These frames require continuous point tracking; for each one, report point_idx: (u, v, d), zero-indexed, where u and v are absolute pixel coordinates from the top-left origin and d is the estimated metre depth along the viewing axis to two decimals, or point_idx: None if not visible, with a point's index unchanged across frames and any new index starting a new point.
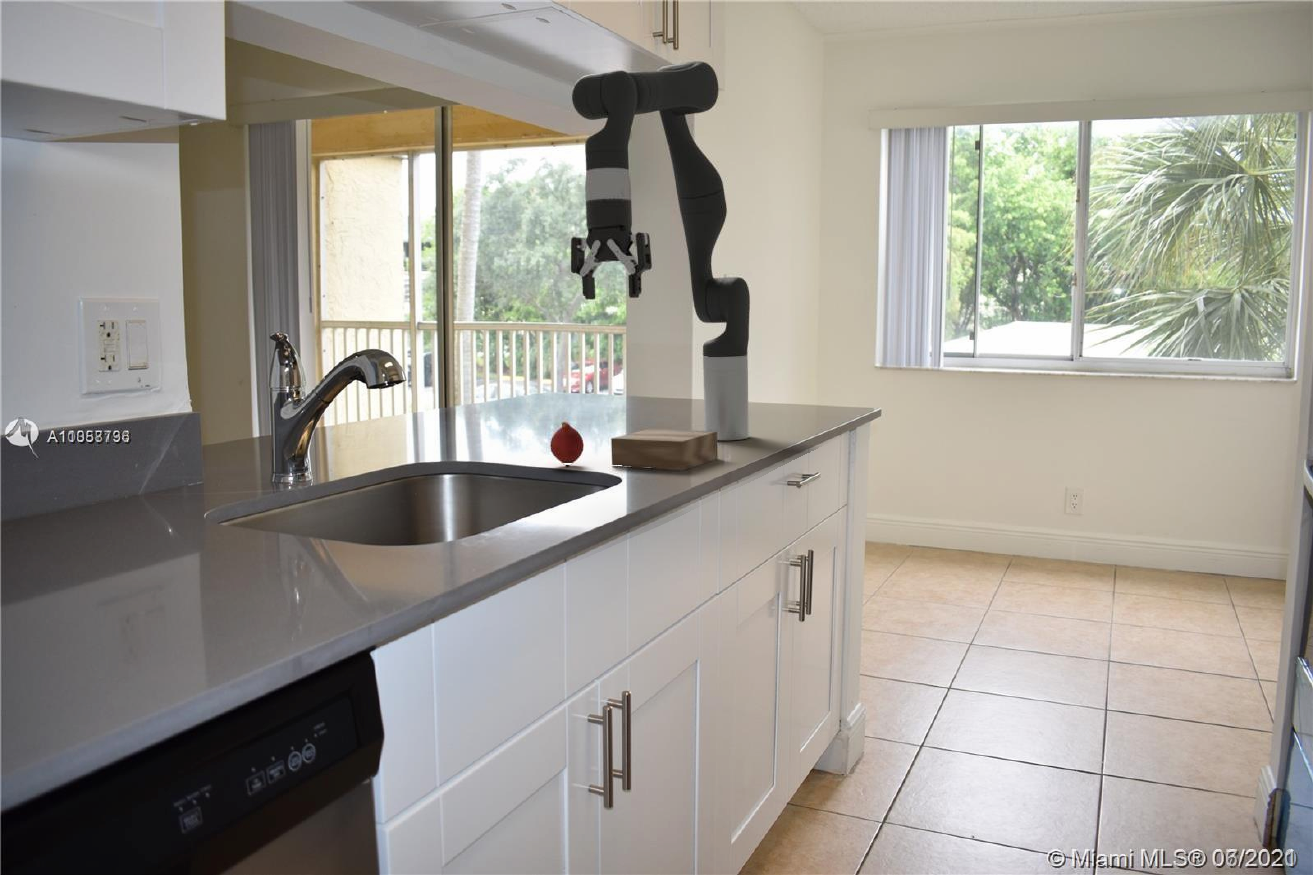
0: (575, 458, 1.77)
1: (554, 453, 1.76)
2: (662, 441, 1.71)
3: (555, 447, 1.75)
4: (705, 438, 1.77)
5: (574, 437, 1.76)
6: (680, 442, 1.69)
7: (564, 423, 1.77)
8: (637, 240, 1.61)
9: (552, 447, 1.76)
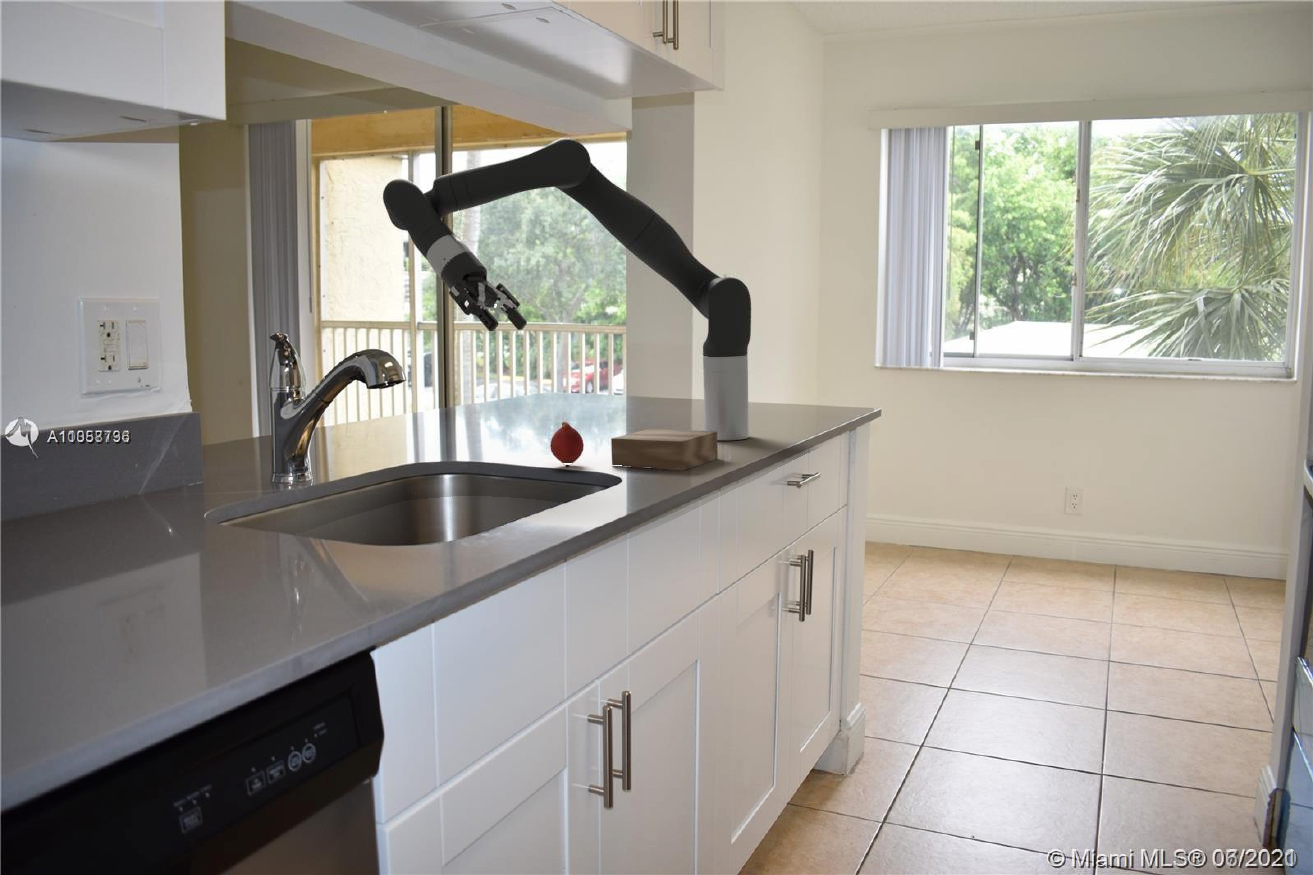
0: (575, 458, 1.77)
1: (554, 453, 1.76)
2: (662, 441, 1.71)
3: (555, 447, 1.75)
4: (705, 438, 1.77)
5: (574, 437, 1.76)
6: (680, 442, 1.69)
7: (564, 423, 1.77)
8: None
9: (552, 447, 1.76)
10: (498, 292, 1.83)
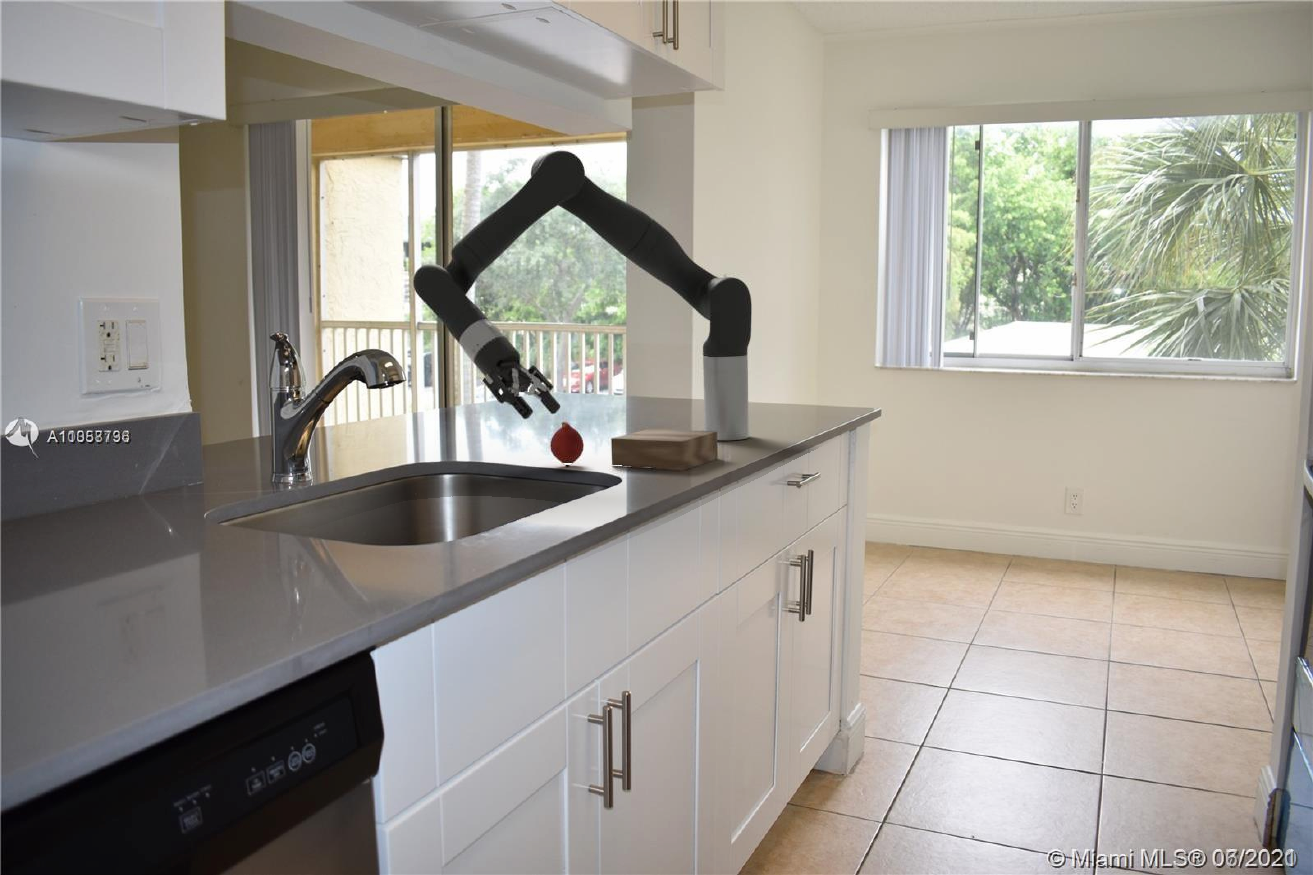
0: (575, 458, 1.77)
1: (554, 453, 1.76)
2: (662, 441, 1.71)
3: (555, 447, 1.75)
4: (705, 438, 1.77)
5: (574, 437, 1.76)
6: (680, 442, 1.69)
7: (564, 423, 1.77)
8: None
9: (552, 447, 1.76)
10: (531, 376, 1.83)
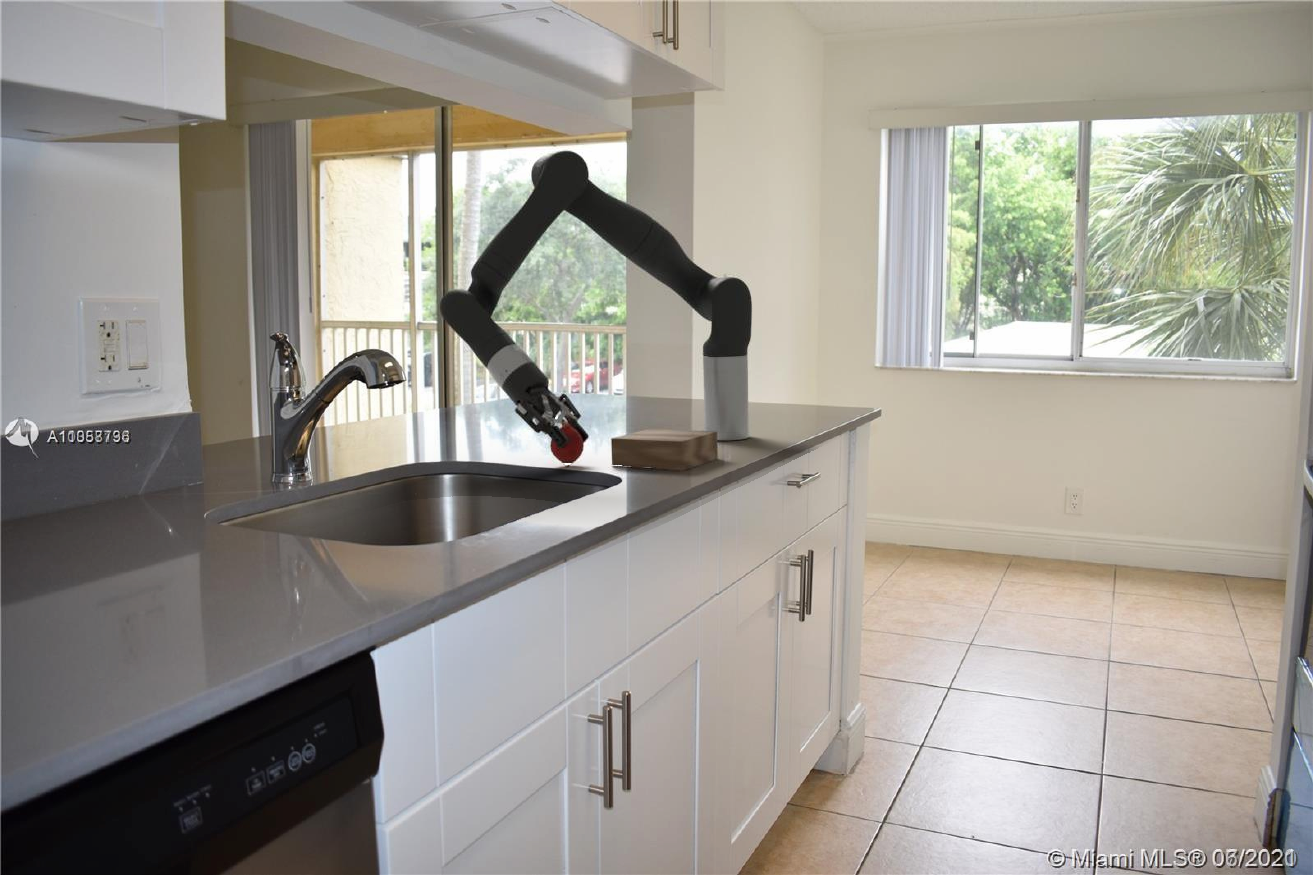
0: (575, 458, 1.77)
1: (554, 453, 1.76)
2: (662, 441, 1.71)
3: (555, 447, 1.75)
4: (705, 438, 1.77)
5: (574, 437, 1.76)
6: (680, 442, 1.69)
7: (564, 423, 1.77)
8: None
9: (552, 447, 1.76)
10: (560, 403, 1.80)
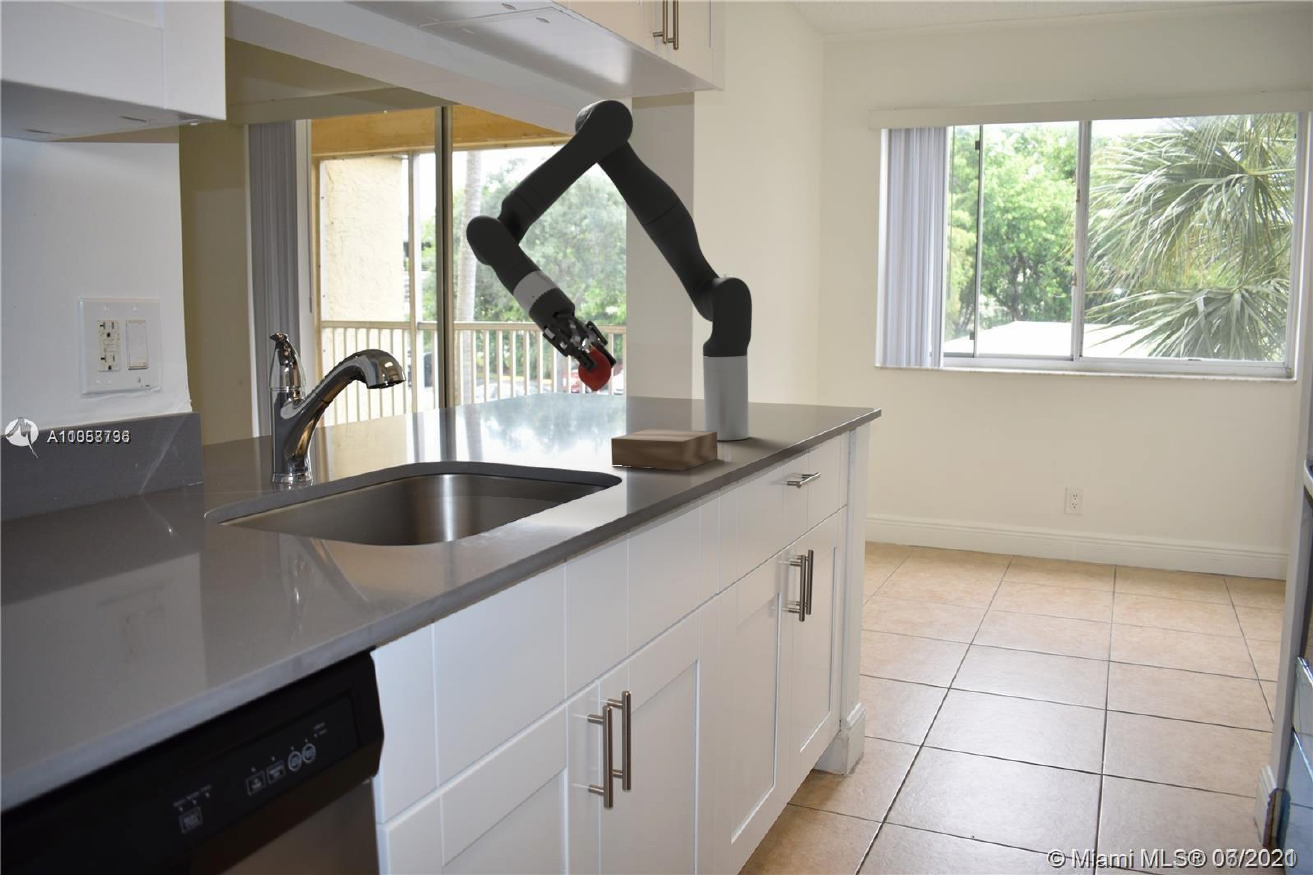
0: (603, 383, 1.76)
1: (582, 378, 1.75)
2: (662, 441, 1.71)
3: (583, 372, 1.74)
4: (705, 438, 1.77)
5: (602, 361, 1.74)
6: (680, 442, 1.69)
7: (591, 348, 1.76)
8: None
9: (580, 372, 1.75)
10: (587, 329, 1.79)
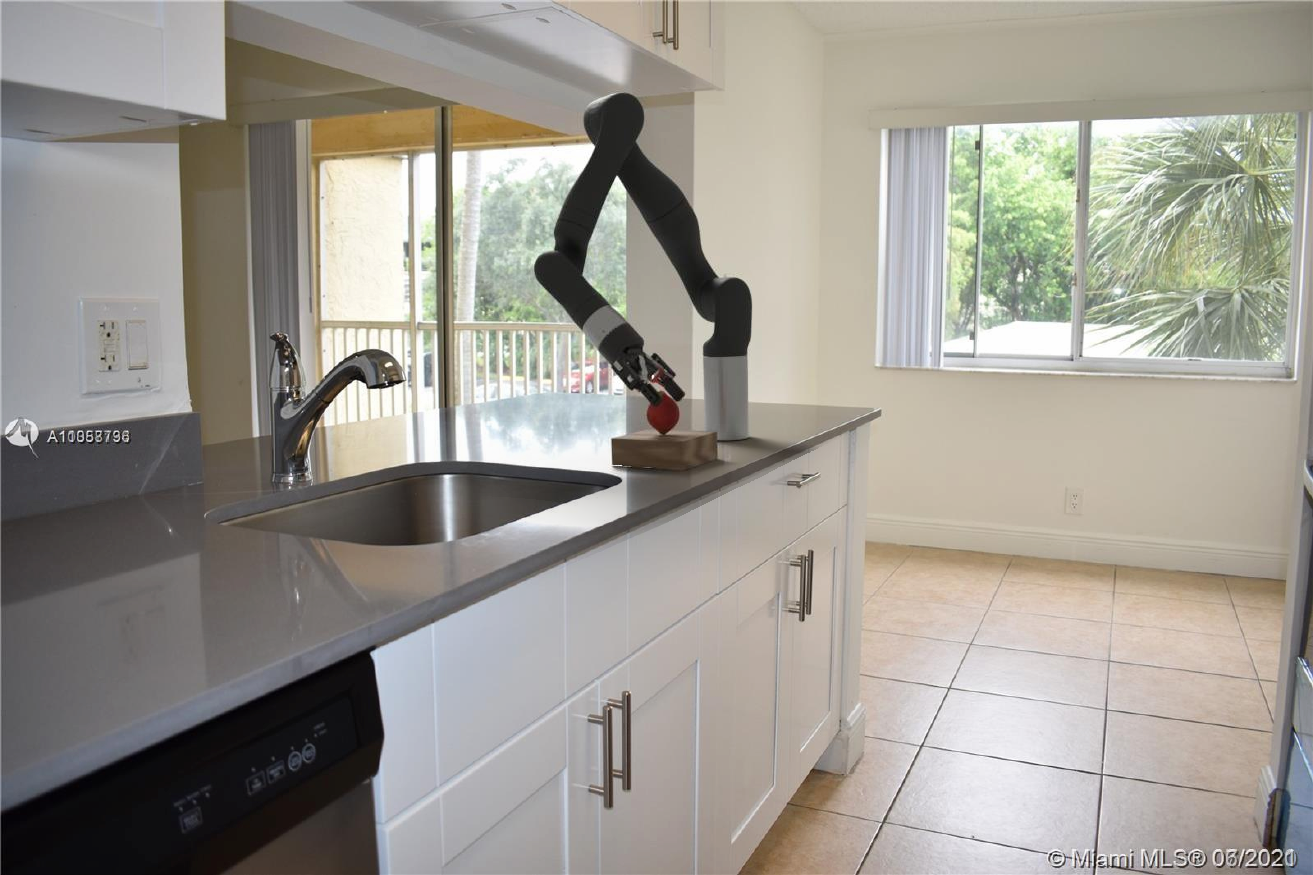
0: (672, 427, 1.77)
1: (651, 422, 1.76)
2: (662, 441, 1.71)
3: (653, 416, 1.75)
4: (705, 438, 1.77)
5: (672, 406, 1.75)
6: (680, 442, 1.69)
7: (661, 392, 1.76)
8: None
9: (649, 416, 1.76)
10: (656, 364, 1.80)
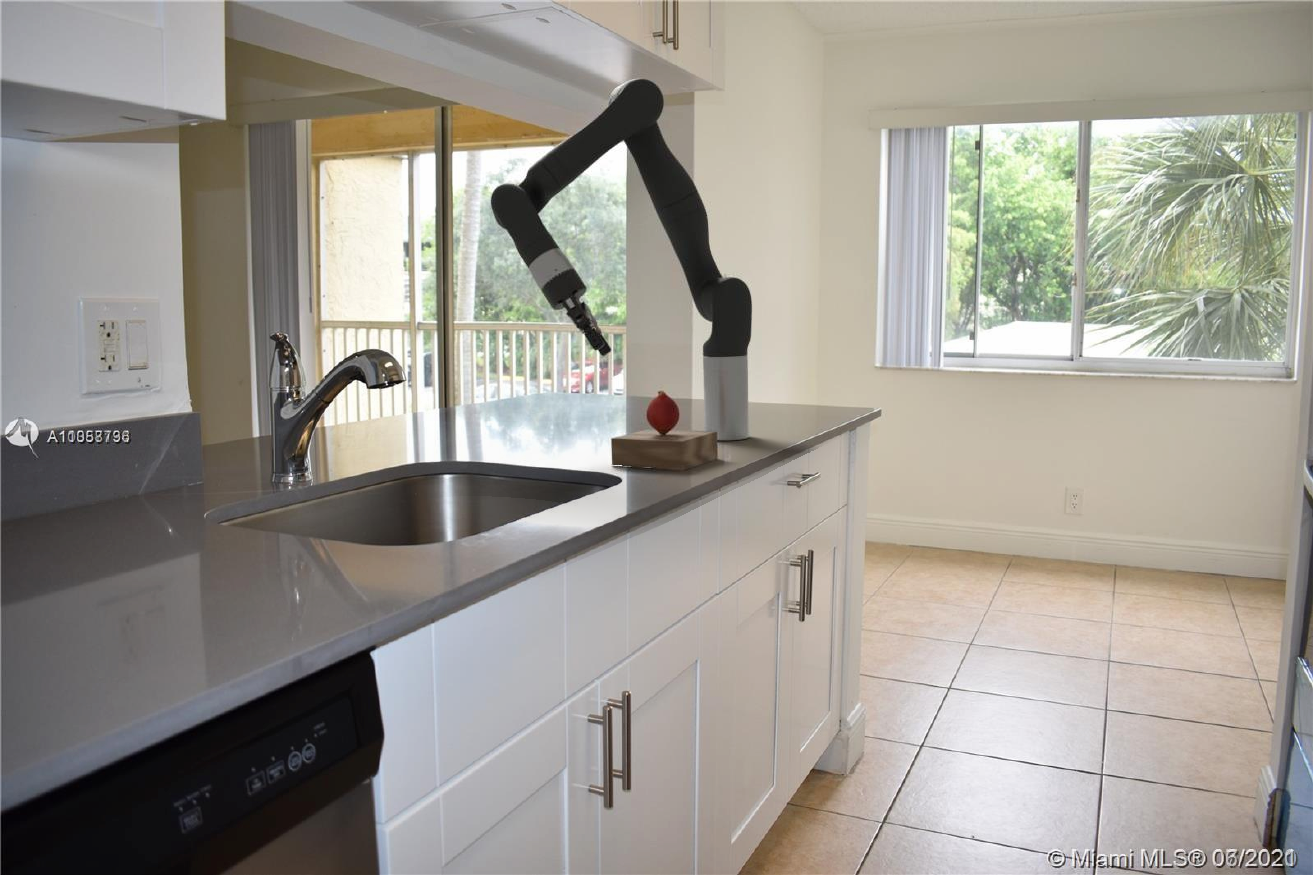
0: (672, 427, 1.77)
1: (651, 422, 1.76)
2: (662, 441, 1.71)
3: (652, 416, 1.75)
4: (705, 438, 1.77)
5: (672, 405, 1.76)
6: (680, 442, 1.69)
7: (660, 392, 1.77)
8: None
9: (649, 416, 1.76)
10: (592, 315, 1.88)
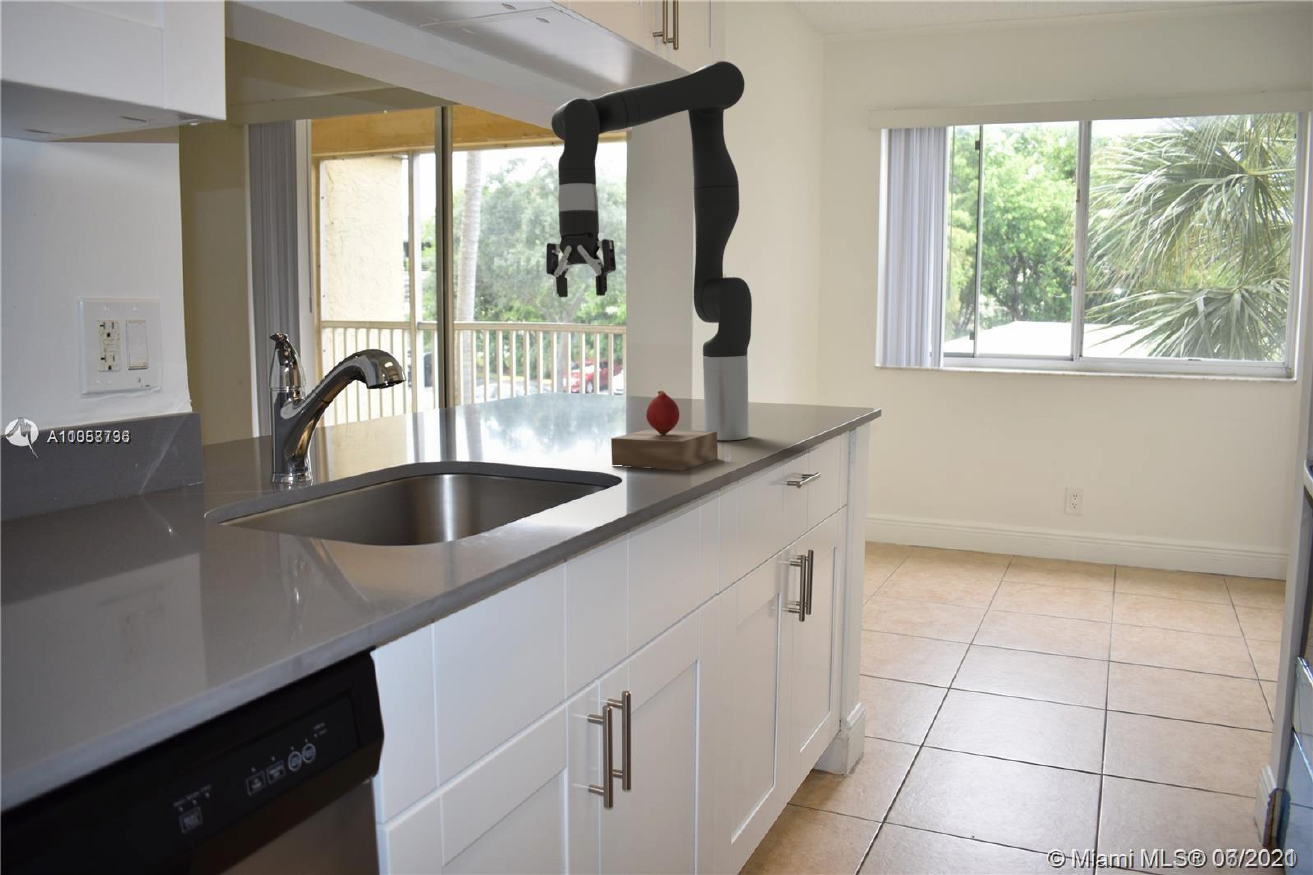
0: (672, 427, 1.77)
1: (651, 422, 1.76)
2: (662, 441, 1.71)
3: (652, 416, 1.75)
4: (705, 438, 1.77)
5: (672, 405, 1.76)
6: (680, 442, 1.69)
7: (660, 392, 1.77)
8: (603, 246, 1.86)
9: (649, 416, 1.76)
10: None
